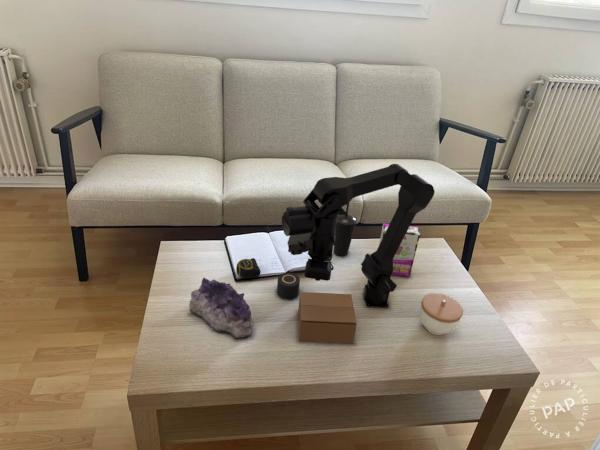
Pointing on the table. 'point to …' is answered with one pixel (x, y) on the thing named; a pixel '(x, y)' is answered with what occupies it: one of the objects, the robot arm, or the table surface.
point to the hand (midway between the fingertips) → (317, 279)
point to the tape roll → (288, 286)
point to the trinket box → (440, 313)
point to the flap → (326, 299)
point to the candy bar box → (404, 251)
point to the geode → (222, 308)
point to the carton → (326, 324)
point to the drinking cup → (344, 233)
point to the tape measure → (248, 268)
